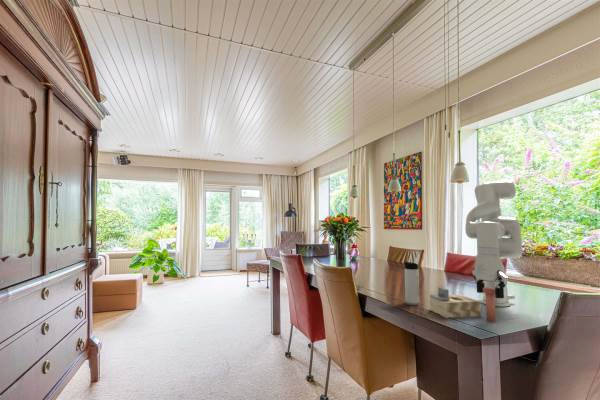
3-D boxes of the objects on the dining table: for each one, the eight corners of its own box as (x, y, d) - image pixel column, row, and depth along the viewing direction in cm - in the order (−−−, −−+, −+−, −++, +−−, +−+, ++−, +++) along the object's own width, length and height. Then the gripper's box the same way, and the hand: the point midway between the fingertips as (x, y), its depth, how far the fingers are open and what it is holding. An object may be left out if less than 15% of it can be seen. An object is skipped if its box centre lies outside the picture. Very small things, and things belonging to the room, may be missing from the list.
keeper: (440, 296, 131) (440, 286, 131) (449, 300, 125) (449, 290, 125) (430, 297, 130) (429, 287, 130) (438, 300, 124) (437, 290, 124)
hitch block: (462, 308, 134) (462, 294, 135) (480, 316, 124) (480, 301, 124) (430, 309, 132) (429, 296, 133) (445, 317, 121) (445, 302, 122)
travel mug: (402, 302, 145) (401, 260, 146) (415, 301, 145) (414, 260, 147) (408, 305, 139) (407, 262, 140) (421, 305, 139) (420, 262, 141)
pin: (491, 318, 121) (490, 287, 122) (501, 322, 116) (499, 289, 117) (481, 318, 120) (479, 287, 121) (490, 322, 115) (488, 290, 116)
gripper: (464, 250, 128) (466, 290, 126) (496, 253, 111) (498, 300, 109) (480, 250, 129) (482, 290, 127) (514, 254, 112) (516, 300, 110)
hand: (489, 295), depth 118 cm, fingers open, 9 cm apart
